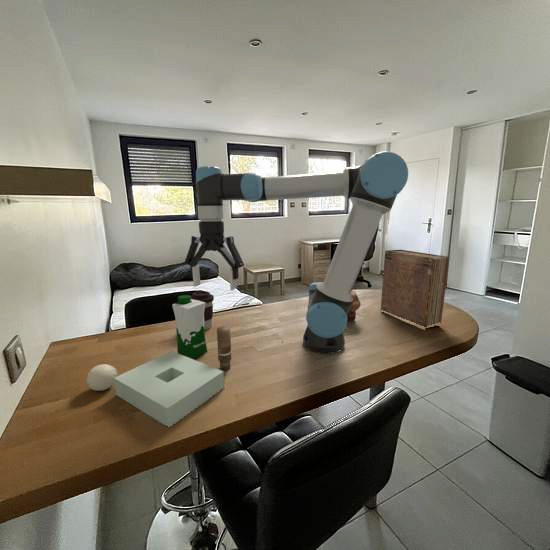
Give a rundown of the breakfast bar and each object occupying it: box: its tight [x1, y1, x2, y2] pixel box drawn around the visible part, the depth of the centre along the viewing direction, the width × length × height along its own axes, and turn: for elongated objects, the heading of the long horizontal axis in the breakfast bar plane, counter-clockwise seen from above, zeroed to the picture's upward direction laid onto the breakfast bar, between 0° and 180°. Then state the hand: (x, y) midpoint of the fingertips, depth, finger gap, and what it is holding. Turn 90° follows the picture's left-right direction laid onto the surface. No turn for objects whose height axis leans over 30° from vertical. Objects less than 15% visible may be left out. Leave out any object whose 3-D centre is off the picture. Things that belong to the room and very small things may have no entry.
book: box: [380, 249, 450, 327], centre depth 127 cm, size 25×9×30 cm, turn 23°
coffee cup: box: [190, 290, 215, 331], centre depth 120 cm, size 10×10×15 cm
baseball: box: [86, 363, 119, 392], centre depth 79 cm, size 7×7×7 cm
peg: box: [216, 325, 232, 372], centre depth 89 cm, size 4×4×13 cm
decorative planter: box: [347, 289, 361, 324], centre depth 130 cm, size 20×12×14 cm, turn 37°
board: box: [113, 350, 225, 428], centre depth 78 cm, size 22×18×5 cm
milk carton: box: [172, 294, 208, 360], centre depth 97 cm, size 9×9×20 cm
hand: (214, 287), depth 93 cm, fingers open, 13 cm apart
